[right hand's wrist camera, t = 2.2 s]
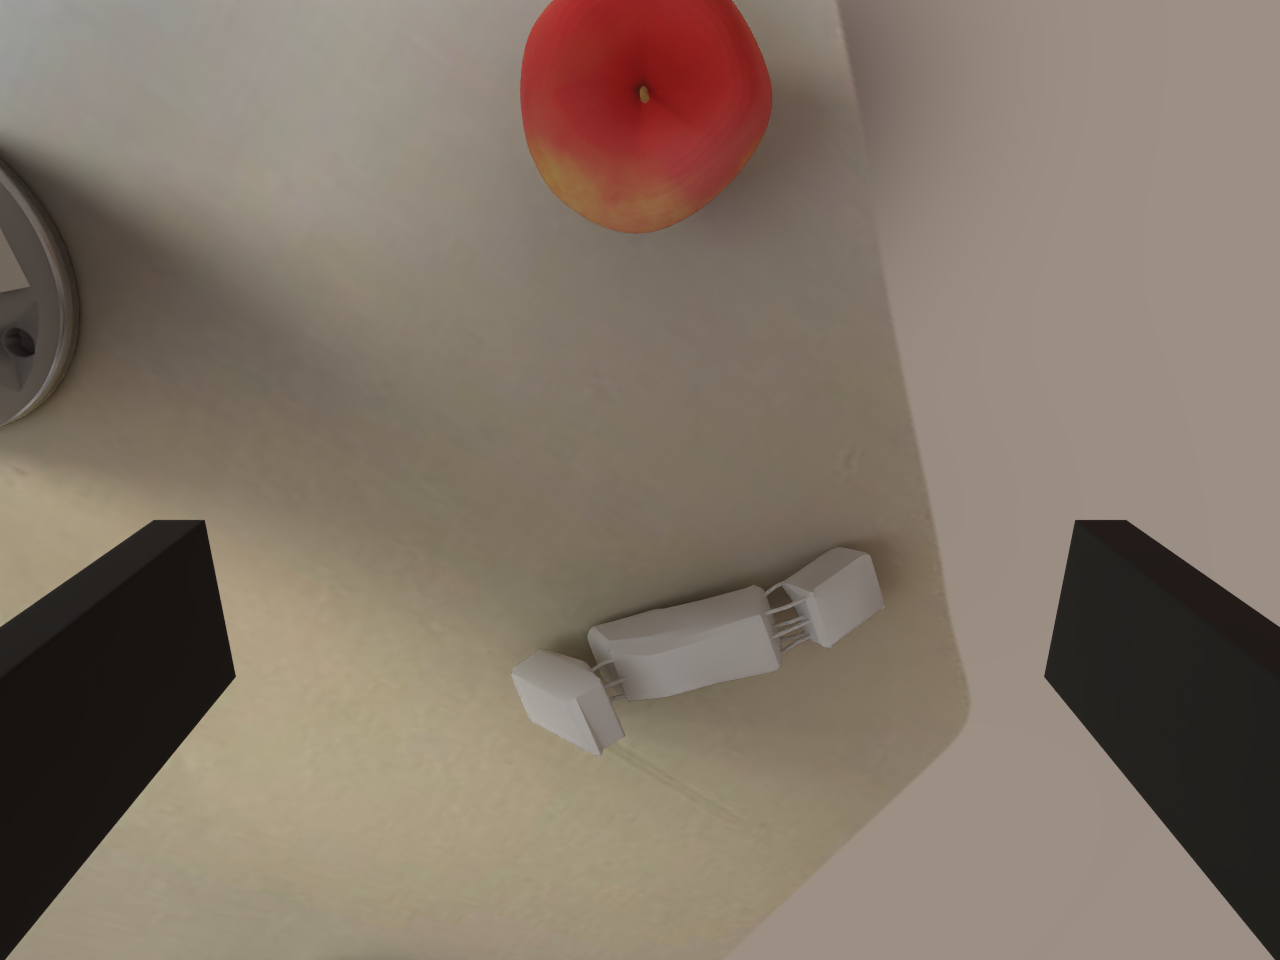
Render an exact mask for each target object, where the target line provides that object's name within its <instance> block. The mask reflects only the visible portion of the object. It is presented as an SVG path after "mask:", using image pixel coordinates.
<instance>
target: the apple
mask: <svg viewBox="0 0 1280 960" xmlns="http://www.w3.org/2000/svg"><path fill="white" fill-rule="evenodd" d="M520 94H521V110H522V118H523V125H524V131H525V136H526V140H527V144H528V147H529V150H530V153H531V155H532V158H533V160H534V162H535V164H536V166H537V168H538V170H539V172H540V174H541V176H542V178H543V180H544V181H545V183H546V184H547V186H548V187H549V188H550V190H551V191H552V192H553V193H554V194H555V195H556V196H557V197H558V198H559V199H560V200H561V201H562V202H564V203H565V204H566V205H567V206H569V207H570V208H571V209H572V210H574V211H575V212H577V213H578V214H580V215H581V216H583V217H585V218H586V219H588V220H590V221H592V222H594V223H596V224H598V225H600V226H602V227H605V228H608V229H611V230H615V231H619V232H624V233H647V232H652V231H657V230H660V229H663V228H666V227H669V226H671V225H673V224H676V223H678V222H680V221H682V220H683V219H685V218H687V217H689V216H690V215H692V214H693V213H695V212H697V211H698V210H700V209H701V208H702V207H703V206H705V205H706V204H707V203H709V202H710V201H711V200H712V199H713V198H715V197H716V196H717V195H718V194H719V193H720V192H721V191H722V190H723V189H724V188H725V187H726V186H727V185H728V184H729V183H730V182H731V181H732V180H733V179H734V178H735V177H736V176H737V175H738V173H739V172H740V171H741V170H742V168H743V167H744V166H745V165H746V163H747V162H748V160H749V159H750V158H751V156H752V155H753V153H754V152H755V150H756V148H757V146H758V145H759V143H760V141H761V139H762V137H763V135H764V133H765V131H766V128H767V125H768V122H769V119H770V113H771V107H772V90H771V82H770V78H769V74H768V70H767V67H766V64H765V61H764V58H763V56H762V53H761V51H760V49H759V46H758V44H757V42H756V40H755V38H754V36H753V34H752V32H751V30H750V28H749V26H748V25H747V23H746V21H745V19H744V18H743V16H742V15H741V13H740V11H739V10H738V8H737V7H736V5H735V4H734V3H733V1H732V0H553V1H552V2H551V3H550V4H549V5H548V7H547V8H546V9H545V10H544V11H543V13H542V14H541V15H540V17H539V18H538V20H537V21H536V23H535V24H534V26H533V28H532V30H531V32H530V34H529V37H528V40H527V43H526V47H525V51H524V56H523V62H522V71H521V87H520Z"/></svg>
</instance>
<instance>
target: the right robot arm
mask: <svg viewBox="0 0 1280 960" xmlns="http://www.w3.org/2000/svg"><path fill="white" fill-rule="evenodd" d="M78 331H79V299H78V292H77V286H76V280H75V277H74V273H73V269H72V265H71V262H70V260H69V257H68V254H67V251H66V249H65V246H64V244H63V242H62V240H61V238H60V235H59V233H58V231H57V230H56V228H55V226H54V224H53V222H52V221H51V219H50V217H49V215H48V214H47V212H46V211H45V209H44V208H43V206H42V205H41V203H40V202H39V201H38V199H37V198H36V197H35V196H34V194H33V193H32V192H31V190H30V189H29V188H28V187H27V185H26V184H25V183H24V182H23V181H22V180H21V179H20V178H19V177H18V176H17V175H16V173H15V172H14V171H13V170H11V169H10V168H9V167H8V166H7V165H6V164H5V163H4V162H3V161H2V160H1V159H0V427H1V426H3V425H6V424H9V423H11V422H14V421H16V420H18V419H20V418H22V417H24V416H26V415H27V414H29V413H30V412H32V411H33V410H35V409H36V408H38V407H39V406H40V405H41V404H42V403H43V402H45V401H46V400H47V399H48V398H49V396H50V395H51V394H52V393H53V392H54V391H55V390H56V388H57V387H58V385H59V384H60V383H61V381H62V380H63V378H64V376H65V374H66V372H67V370H68V368H69V366H70V363H71V361H72V358H73V356H74V352H75V348H76V344H77V338H78ZM235 677H236V675H235V670H234V665H233V660H232V655H231V650H230V645H229V640H228V635H227V630H226V625H225V620H224V615H223V610H222V605H221V600H220V595H219V590H218V585H217V580H216V575H215V570H214V564H213V559H212V554H211V549H210V544H209V539H208V534H207V529H206V524H205V520H153V521H152V522H150V523H149V524H148V525H146V526H145V527H143V528H142V529H140V530H139V531H138V532H136V533H135V534H133V535H132V536H130V537H129V538H127V539H126V540H125V541H123V542H122V543H120V544H119V545H117V546H116V547H115V548H113V549H112V550H110V551H109V552H107V553H106V554H105V555H103V556H102V557H100V558H99V559H97V560H96V561H95V562H93V563H92V564H90V565H89V566H87V567H86V568H84V569H83V570H82V571H80V572H79V573H77V574H76V575H74V576H73V577H72V578H70V579H69V580H67V581H66V582H64V583H63V584H62V585H60V586H59V587H57V588H56V589H54V590H53V591H51V592H50V593H49V594H47V595H46V596H44V597H43V598H41V599H40V600H39V601H37V602H36V603H34V604H33V605H31V606H30V607H29V608H27V609H26V610H24V611H23V612H21V613H20V614H19V615H17V616H16V617H14V618H13V619H11V620H10V621H8V622H7V623H6V624H4V625H3V626H1V627H0V960H5V959H6V958H7V957H8V955H9V954H10V953H11V952H12V950H13V949H14V948H15V947H16V946H17V944H18V943H19V942H20V941H21V939H22V938H23V937H24V936H25V935H26V933H27V932H28V931H29V930H30V928H31V927H32V926H33V925H34V923H35V922H36V921H37V920H38V919H39V917H40V916H41V915H42V914H43V912H44V911H45V910H46V909H47V908H48V906H49V905H50V904H51V903H52V901H53V900H54V899H55V898H56V897H57V895H58V894H59V893H60V892H61V890H62V889H63V888H64V887H65V885H66V884H67V883H68V882H69V881H70V879H71V878H72V877H73V876H74V874H75V873H76V872H77V871H78V870H79V868H80V867H81V866H82V865H83V863H84V862H85V861H86V860H87V859H88V857H89V856H90V855H91V854H92V852H93V851H94V850H95V849H96V847H97V846H98V845H99V844H100V843H101V841H102V840H103V839H104V838H105V836H106V835H107V834H108V833H109V832H110V830H111V829H112V828H113V827H114V825H115V824H116V823H117V822H118V820H119V819H120V818H121V817H122V816H123V814H124V813H125V812H126V811H127V809H128V808H129V807H130V806H131V805H132V803H133V802H134V801H135V800H136V798H137V797H138V796H139V795H140V794H141V792H142V791H143V790H144V789H145V787H146V786H147V785H148V784H149V782H150V781H151V780H152V779H153V778H154V776H155V775H156V774H157V773H158V771H159V770H160V769H161V768H162V767H163V765H164V764H165V763H166V762H167V760H168V759H169V758H170V757H171V756H172V754H173V753H174V752H175V751H176V749H177V748H178V747H179V746H180V744H181V743H182V742H183V741H184V740H185V738H186V737H187V736H188V735H189V733H190V732H191V731H192V730H193V729H194V727H195V726H196V725H197V724H198V722H199V721H200V720H201V719H202V718H203V716H204V715H205V714H206V713H207V711H208V710H209V709H210V708H211V706H212V705H213V704H214V703H215V702H216V700H217V699H218V698H219V697H220V695H221V694H222V693H223V692H224V691H225V689H226V688H227V687H228V686H229V684H230V683H231V682H232V681H233V679H234V678H235ZM1044 677H1045V678H1046V680H1047V681H1048V682H1049V683H1050V684H1051V686H1052V687H1053V688H1054V689H1055V691H1056V692H1057V693H1058V694H1059V695H1060V697H1061V698H1062V699H1063V700H1064V702H1065V703H1066V704H1067V705H1068V706H1069V708H1070V709H1071V710H1072V711H1073V713H1074V714H1075V715H1076V716H1077V717H1078V719H1079V720H1080V721H1081V722H1082V724H1083V725H1084V726H1085V727H1086V729H1087V730H1088V731H1089V732H1090V733H1091V735H1092V736H1093V737H1094V738H1095V740H1096V741H1097V742H1098V743H1099V744H1100V746H1101V747H1102V748H1103V749H1104V751H1105V752H1106V753H1107V754H1108V756H1109V757H1110V758H1111V759H1112V760H1113V762H1114V763H1115V764H1116V765H1117V767H1118V768H1119V769H1120V770H1121V771H1122V773H1123V774H1124V775H1125V776H1126V778H1127V779H1128V780H1129V781H1130V782H1131V784H1132V785H1133V786H1134V787H1135V789H1136V790H1137V791H1138V792H1139V794H1140V795H1141V796H1142V797H1143V798H1144V800H1145V801H1146V802H1147V803H1148V805H1149V806H1150V807H1151V808H1152V809H1153V811H1154V812H1155V813H1156V814H1157V816H1158V817H1159V818H1160V819H1161V820H1162V822H1163V823H1164V824H1165V825H1166V827H1167V828H1168V829H1169V830H1170V832H1171V833H1172V834H1173V835H1174V836H1175V838H1176V839H1177V840H1178V841H1179V843H1180V844H1181V845H1182V846H1183V847H1184V849H1185V850H1186V851H1187V852H1188V854H1189V855H1190V856H1191V857H1192V858H1193V860H1194V861H1195V862H1196V863H1197V865H1198V866H1199V867H1200V868H1201V870H1202V871H1203V872H1204V873H1205V874H1206V876H1207V877H1208V878H1209V879H1210V881H1211V882H1212V883H1213V884H1214V885H1215V887H1216V888H1217V889H1218V890H1219V892H1220V893H1221V894H1222V895H1223V897H1224V898H1225V899H1226V900H1227V901H1228V903H1229V904H1230V905H1231V906H1232V908H1233V909H1234V910H1235V911H1236V912H1237V914H1238V915H1239V916H1240V917H1241V919H1242V920H1243V921H1244V922H1245V923H1246V925H1247V926H1248V927H1249V928H1250V930H1251V931H1252V932H1253V933H1254V935H1255V936H1256V937H1257V938H1258V939H1259V941H1260V942H1261V943H1262V944H1263V946H1264V947H1265V948H1266V949H1267V950H1268V952H1269V953H1270V954H1271V955H1272V957H1273V958H1274V959H1275V960H1280V627H1279V626H1277V625H1276V624H1274V623H1273V622H1272V621H1270V620H1269V619H1267V618H1266V617H1264V616H1263V615H1261V614H1260V613H1259V612H1257V611H1256V610H1254V609H1253V608H1251V607H1250V606H1249V605H1247V604H1246V603H1244V602H1243V601H1241V600H1240V599H1239V598H1237V597H1236V596H1234V595H1233V594H1231V593H1230V592H1228V591H1227V590H1226V589H1224V588H1223V587H1221V586H1220V585H1218V584H1217V583H1216V582H1214V581H1213V580H1211V579H1210V578H1208V577H1207V576H1206V575H1204V574H1203V573H1201V572H1200V571H1198V570H1197V569H1196V568H1194V567H1193V566H1191V565H1190V564H1188V563H1187V562H1185V561H1184V560H1183V559H1181V558H1180V557H1178V556H1177V555H1175V554H1174V553H1173V552H1171V551H1170V550H1168V549H1167V548H1165V547H1164V546H1162V545H1161V544H1160V543H1158V542H1157V541H1155V540H1154V539H1153V538H1151V537H1150V536H1148V535H1147V534H1145V533H1144V532H1142V531H1141V530H1140V529H1138V528H1137V527H1135V526H1134V525H1132V524H1131V523H1130V522H1128V521H1127V520H1075V524H1074V529H1073V534H1072V539H1071V545H1070V549H1069V554H1068V560H1067V565H1066V570H1065V575H1064V580H1063V585H1062V590H1061V595H1060V600H1059V605H1058V610H1057V615H1056V620H1055V625H1054V630H1053V635H1052V640H1051V645H1050V650H1049V655H1048V660H1047V665H1046V670H1045V675H1044Z"/></svg>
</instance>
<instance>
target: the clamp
mask: <svg viewBox="0 0 1280 960" xmlns="http://www.w3.org/2000/svg"><path fill="white" fill-rule="evenodd" d="M781 586H782V587H783V589H784V590H785V591H786V593H787V594H788V595H789V597H790V598H791V601H792V603H789V604H787V605H784V606H781V607H778V608H775V609H771V607H770V605H769V602H768V599H767V595H768V594H770V593H771V592H772V591H774V590H775V589H776V588H778V587H781ZM793 606H794V608H795V610H796V613H797V615H798V617H796V618H794V619H792V620H789V621H785V622H781V623H777V624H776V622H775V619H774V616H773V613H775V612H779V611H782V610H785V609H788V608H791V607H793ZM881 609H885V603H884V599H883V596H882V593H881V589H880V586H879V582H878V579H877V576H876V572H875V569H874V566H873V562H872V559H871V557H870V555H869V554H867V553H866V552H862V551H857V550H853V549H848V548H843V547H836V548H834V549H831V550H828V551H827V552H826V553H824V554H823V555H821V556H820V557H818V558H817V559H815V560H814V561H812V562H811V563H809V564H808V565H806V566H805V567H804V568H802V569H801V570H799V571H798V572H796V573H795V574H793V575H792V576H790V577H789V578H787V579H786V580H784V581H783V582H780V583H778V584H775V585H773V586H772V587H771V588H770V589H768V590H767V591H766V592H765V590H764V589H762V588H761V587H758V586H756V585H752V586H750V587H748V588H744V589H740V590H737V591H733V592H729V593H726V594H722V595H718V596H715V597H711V598H707V599H703V600H699V601H695V602H691V603H686V604H682V605H678V606H673V607H669V608H665V609H653V610H650V611H647V612H643V613H640V614H636V615H633V616H629V617H626V618H622V619H619V620H616V621H612V622H608V623H604V624H600V625H596V626H593V627H592V628H591V629H590V631H589V633H588V636H587V639H588V642H589V645H590V647H591V650H592V653H593V655H594V658H595V660H596V663H597V665H596V666H595V667H593V668H592V669H591V668H590V667H589V666H588V664H587V663H586V662H584V661H581V660H578V659H575V658H572V657H569V656H566V655H563V654H560V653H556V652H553V651H550V650H546V649H539V650H537V651H536V652H534V653H533V654H531V655H530V656H529V657H527V658H526V659H525V660H523V661H522V662H521V663H519V664H518V665H517V666H515V667H514V668H513V670H512V675H511V677H512V680H513V682H514V685H515V687H516V689H517V692H518V694H519V696H520V699H521V701H522V703H523V706H524V708H525V711H526V713H527V715H528V718H529V720H530V721H532V722H534V723H536V724H537V725H539V726H541V727H543V728H545V729H547V730H549V731H550V732H552V733H554V734H556V735H558V736H560V737H561V738H563V739H565V740H567V741H569V742H571V743H572V744H574V745H576V746H578V747H580V748H582V749H583V750H585V751H587V752H589V753H591V754H593V755H597V756H601V755H602V752H603V749H604V748H605V747H607V746H609V745H610V744H612V743H614V742H616V741H617V740H619V739H621V738H623V737H624V736H625V733H624V730H623V728H622V726H621V722H620V720H619V718H618V716H617V714H616V712H615V710H614V708H613V706H612V703H611V701H614V700H618V699H622V698H626V699H627V701H628V702H630V701H638V700H646V699H653V698H661V697H668V696H672V695H675V694H679V693H683V692H686V691H690V690H694V689H697V688H701V687H705V686H708V685H712V684H715V683H719V682H725V681H730V680H735V679H740V678H745V677H750V676H755V675H760V674H765V673H770V672H774V671H776V670H778V669H779V668H780V666H781V663H782V655H783V654H784V653H785V652H787V651H788V650H790V649H791V648H793V647H794V646H795V645H797V644H798V643H801V642H803V641H805V640H807V639H809V640H811V641H813V642H815V643H817V644H820V645H822V646H824V647H826V648H832V647H833V646H834V644H835V643H837V642H838V641H839V640H841V639H842V638H844V637H845V636H846V635H848V634H849V633H850V632H852V631H853V630H854V629H856V628H857V627H858V626H860V625H861V624H862V623H864V622H865V621H866V620H868V619H869V618H870V617H872V616H873V615H874V614H876V613H877V612H878V611H880V610H881ZM797 621H800V623H798V624H796V625H794V626H792V627H789V628H787V629H785V630H782V631H780V632H779V630H778V627H781V626H785V625H789V624H793V623H795V622H797ZM800 627H802V628H803V630H804V631H803V632H801V633H799V634H795V635H791V636H787V637H784V638H781V635H783V634H786V633H788V632H791V631H793V630H795V629H797V628H800ZM804 635H805V636H804ZM802 636H804V637H802ZM800 637H801V638H800ZM796 638H799V639H797V640H795V641H794V642H792V643H791V644H790V645H788V646H787V647H785V648H784V649H782V650H781V642H784V641H788V640H792V639H796ZM598 668H599V671H600V674H601V676H602V678H603V679H604V680H605V681H606V682H607V684H605V685H603V683H602V681H601V680H600V679H599V678H598V677H597V676H596V674H595V673H594V671H596V670H597V669H598ZM611 686H612V687H613V688H614V689H615V690H616V691H617V692H618V693H619V694H621V695H618V696H614V697H610V698H609V697H608V694H607V692H606V690H605V689H607V688H609V687H611Z"/></svg>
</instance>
